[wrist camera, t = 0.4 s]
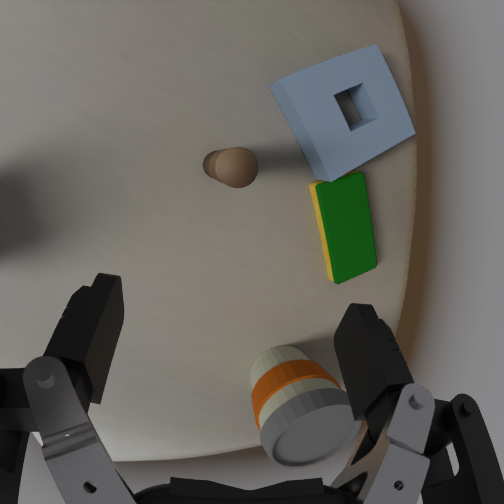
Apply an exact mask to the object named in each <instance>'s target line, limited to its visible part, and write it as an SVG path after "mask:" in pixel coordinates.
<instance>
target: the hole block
mask: <svg viewBox="0 0 504 504" xmlns="http://www.w3.org/2000/svg"><path fill="white" fill-rule="evenodd" d="M269 87H270V89H271V91H272V93H273V95H274V97H275V98H276V100H277V102H278V104H279V106H280V108H281V110H282V111H283V113H284V115H285V117H286V119H287V121H288V123H289V125H290V127H291V129H292V131H293V133H294V135H295V136H296V138H297V140H298V142H299V144H300V146H301V148H302V150H303V153H304V155H305V157H306V159H307V161H308V163H309V165H310V167H311V169H312V171H313V173H314V175H315V178H316V179H318V180H323V181H328V182H332V181H334V180H336V179H337V178H339V177H341V176H342V175H344V174H346V173H348V172H349V171H351V170H353V169H354V168H356V167H358V166H360V165H361V164H363V163H365V162H367V161H368V160H370V159H372V158H373V157H375V156H377V155H379V154H380V153H382V152H384V151H386V150H387V149H389V148H391V147H393V146H394V145H396V144H398V143H400V142H401V141H403V140H405V139H407V138H408V137H410V136H412V135H414V134H416V133H415V130H414V127H413V125H412V122H411V119H410V117H409V114H408V112H407V109H406V107H405V104H404V102H403V99H402V97H401V94H400V92H399V90H398V88H397V85H396V83H395V81H394V79H393V76H392V74H391V72H390V70H389V68H388V66H387V64H386V62H385V60H384V58H383V56H382V54H381V52H380V50H379V48H378V46H377V44H375V45H372V46H369V47H365V48H362V49H359V50H356V51H353V52H350V53H346V54H344V55H341V56H338V57H335V58H332V59H329V60H326V61H324V62H321V63H318V64H316V65H313V66H310V67H308V68H305V69H303V70H300V71H298V72H295V73H293V74H290V75H288V76H285V77H283V78H281V79H279V80H277V81H276V82H274V83H273V84H271V85H270V86H269ZM346 89H347V90H348V92H349V94H350V96H351V98H352V100H353V102H354V104H355V106H356V109H357V111H358V113H359V115H360V117H361V120H360V121H358V122H356V123H354V124H352V125H350V126H348V125H347V122H346V120H345V118H344V116H343V114H342V112H341V110H340V107H339V105H338V103H337V101H336V99H335V97H334V94H337V93H339V92H341V91H344V90H346Z"/></svg>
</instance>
